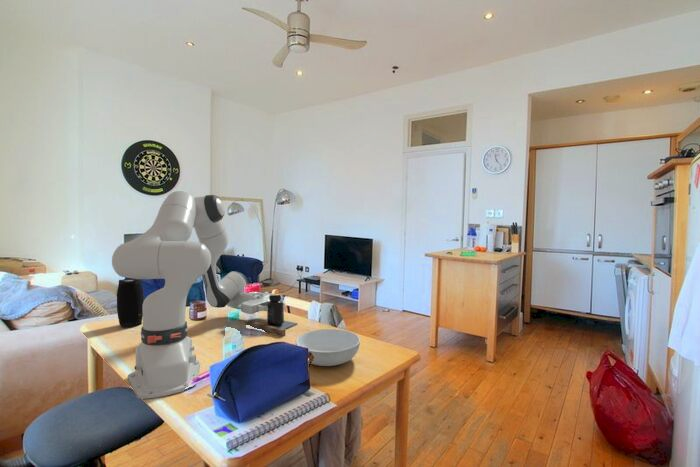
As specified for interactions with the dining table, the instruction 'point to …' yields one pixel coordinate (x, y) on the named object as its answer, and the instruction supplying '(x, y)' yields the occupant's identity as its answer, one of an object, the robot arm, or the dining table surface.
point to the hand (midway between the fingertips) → (276, 306)
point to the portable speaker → (130, 302)
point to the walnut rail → (267, 328)
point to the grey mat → (284, 325)
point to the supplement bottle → (275, 310)
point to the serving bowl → (330, 346)
